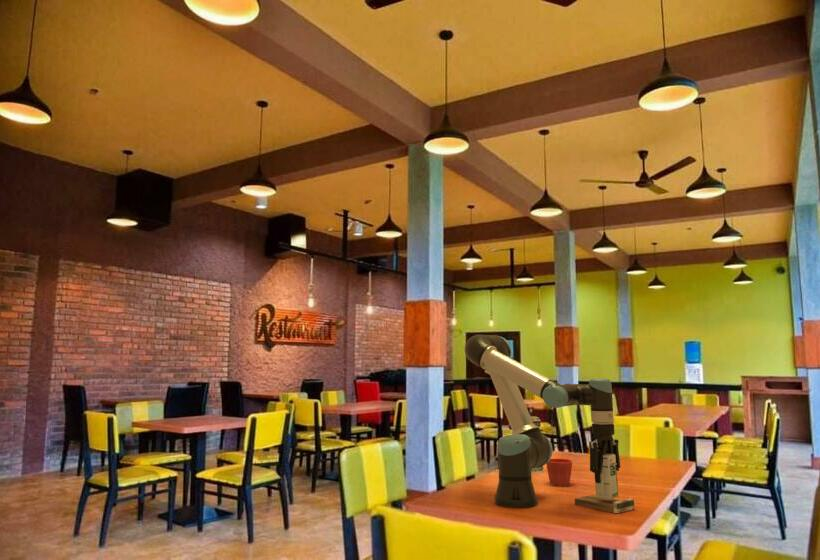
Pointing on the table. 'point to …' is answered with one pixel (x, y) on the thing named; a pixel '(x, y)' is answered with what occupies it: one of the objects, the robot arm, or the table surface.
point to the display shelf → (605, 503)
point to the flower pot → (559, 471)
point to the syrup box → (609, 477)
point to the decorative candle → (537, 422)
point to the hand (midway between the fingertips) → (606, 491)
